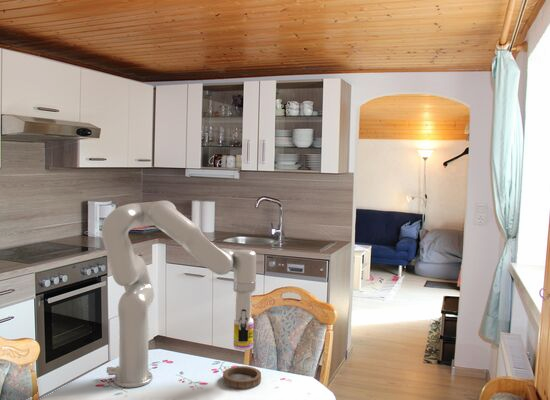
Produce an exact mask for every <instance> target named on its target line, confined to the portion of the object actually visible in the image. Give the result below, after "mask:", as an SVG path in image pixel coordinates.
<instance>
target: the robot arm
mask: <svg viewBox="0 0 550 400" xmlns="http://www.w3.org/2000/svg"><path fill="white" fill-rule="evenodd" d="M150 226H155V227H156V228H157V229H159V230H160V231H161V232H163V233H165V234H166V235H167V236H168V237H169V238H171V239H172V240H174V242H176V243H177V244H178V245H180V246H181V247H182V248H183V249H184V250H185V251H186V252H188V254H190V255H191V256H192V257H193V258H194V259H195V260H196V261H197V262H198V263H200V264H201V265H202V266H203V267H205V268H207V269H208V270H210V271H211V272H212V273H213V274H216V275H220V276H224V275H227V274H229V273H230V272H231V271H232V270H233V288H232V289H233V291H234V292H235V318H234V320H235V321H236V322H237V321H239V319H240V321H239V322H240V323H239V336H238V341H239V342H247V341H248V329H247V328H248V321H250V317H251V315H252V312H251V311H252V298H253V297H252V296H253V293H255V292H256V288H257V287H256V283H257V280H256V276H257V275H256V274H257V253H256V252H255V250H251V249H232V248H225V247H224V248H223V247H222V248H219V247H218V246H216V245H215V244H214V243H212V241H210V240H209V238H207V237H206V235H205V234H204V233H203V232H202V230H201V228H200V227H199V226H198V225H197V224H196V223H194V222H193V221H192V220H191V219H189V218H188V217H187V216H185V215H184V214H183V213H181V212H180V211H179V210H177V206H175V204H174V203H173V202H171V201H169V200H158V201H157V200H156V201H146V202H133V203H132V202H131V203H128V204H127V203H126V204H123V205H120V206H118V207H116V208H115V209H114V210H112V211H111V212H110V213H108V215H107V216H106V218H105V219H104V221H103V223H102V227H101V237H102V242H103V245H104V248H105V251H106V256H107V260H108V263H109V267H110V271H111V275H112V278H113V280H114V282H115V283H116V284H117V285H118V286H121V287H124V291H125V292H124V293H123V294H121V297H120V299H119V300H118V301H119V302H118V305H117V312H118V322H119V324H118V325H119V329H118V331H119V332H118V333H119V338H118V339H119V340H118V343H119V344H118V346H119V348H118V349H119V351H118V355H119V357H118V366H117V365H116V367H114V366H107V367H106V374H107V376H114V377H113V380H114V381H113V382H114V384H115V385H117V386H118V387H121V388H122V387H123V388H138V387H142V386H146V385H147V384H149V383H151V382H152V380H153V374H152V372H151V371H149V338H150V337H149V335H150V334H149V331H150V330H149V329H150V327H149V308H150V306H151V305H152V303H153V301H154V297H155V293H154V288H153V284H152V281H151V278H150V274H149V271H148V267H147V264H146V262H145V260H144V259H143V258H142V257H141V256H140V255H138V254H135V253H134V248H133V244H132V241H131V239H130V237H129V232H130V231H131V230H133V229H135V228H138V227H139V228H140V227H150ZM250 314H251V315H250ZM241 319H242V320H241ZM245 319H247V320H245ZM241 323H242V324H241ZM245 323H246V324H245Z"/></svg>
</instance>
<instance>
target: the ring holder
mask: <svg viewBox="0 0 550 400" xmlns="http://www.w3.org/2000/svg"><path fill="white" fill-rule="evenodd" d="M222 382H223V384H224V385H225V386H226V387H228V388H230V389H235V390H250V389H254V388H256V387H258V386H259V385H260V384H261V382H262V373H261V371H260V370H259V369H258V368H256V367H253V366H247V365H246V366H245V365H242V366H241V365H238V366H232V367H229V368H226V369H225V370H224V371H223V373H222Z"/></svg>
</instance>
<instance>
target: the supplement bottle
mask: <svg viewBox="0 0 550 400" xmlns="http://www.w3.org/2000/svg"><path fill="white" fill-rule="evenodd" d="M251 315H252V313H251V314H250V321H248V328H247V329H248V341H247V342H239V341H238V336H239V323H240V322H239V321H240V319H239V321H237V322H236V321H235V319H233V323H234V324H233V348H234V349H235V350H237V351H248V350H252V348H253V347H254V319H253V318H252V316H251ZM241 320H242V319H241ZM245 320H247V319H245ZM241 324H242V323H241ZM245 324H246V323H245Z"/></svg>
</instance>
